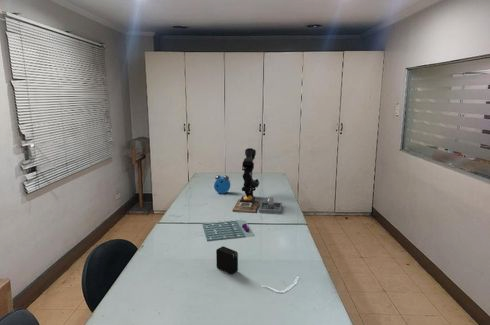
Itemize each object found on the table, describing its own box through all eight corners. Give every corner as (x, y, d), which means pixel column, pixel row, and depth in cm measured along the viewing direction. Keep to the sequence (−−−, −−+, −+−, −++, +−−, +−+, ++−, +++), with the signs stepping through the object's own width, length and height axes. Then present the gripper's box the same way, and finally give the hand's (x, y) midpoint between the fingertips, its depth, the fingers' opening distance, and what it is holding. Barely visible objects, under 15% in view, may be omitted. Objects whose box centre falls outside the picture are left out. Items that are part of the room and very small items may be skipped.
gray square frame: (261, 204, 245) (261, 201, 244) (281, 206, 243) (281, 202, 242) (258, 212, 230) (258, 209, 229) (280, 213, 227) (280, 210, 227)
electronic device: (222, 264, 161) (222, 245, 159) (238, 271, 155) (237, 251, 153) (216, 268, 158) (216, 248, 156) (232, 275, 152) (231, 255, 149)
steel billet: (267, 208, 239) (268, 197, 237) (273, 208, 238) (274, 197, 236) (267, 210, 234) (267, 199, 233) (273, 210, 234) (273, 199, 232)
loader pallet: (238, 200, 255) (238, 195, 254) (259, 201, 252) (259, 196, 251) (232, 211, 232) (232, 205, 231) (255, 212, 229) (255, 207, 228)
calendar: (201, 224, 212) (201, 220, 211) (244, 219, 218) (244, 216, 218) (207, 242, 186) (207, 238, 186) (255, 237, 193) (255, 233, 192)
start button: (244, 198, 251) (244, 195, 251) (252, 199, 250) (252, 195, 250) (242, 201, 245) (242, 198, 244) (251, 201, 244) (251, 198, 243)
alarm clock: (230, 192, 276) (230, 174, 273) (229, 194, 270) (229, 176, 267) (215, 191, 277) (214, 174, 274) (214, 193, 271) (213, 176, 268)
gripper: (257, 180, 234) (256, 201, 237) (260, 174, 251) (260, 193, 255) (241, 180, 235) (241, 200, 239) (245, 173, 253) (245, 193, 257)
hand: (247, 197), depth 247 cm, fingers closed, pressing on start button
